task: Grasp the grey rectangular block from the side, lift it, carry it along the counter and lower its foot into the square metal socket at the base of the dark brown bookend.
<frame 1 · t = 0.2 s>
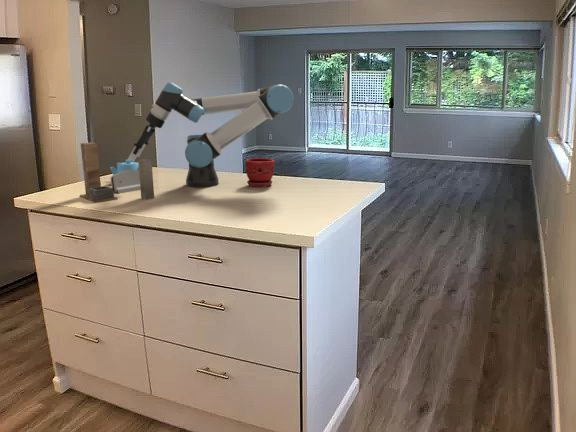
hand: (133, 157, 248), 15 cm above the table, tool tilted 35°, fingers open, 13 cm apart
teapot: (129, 182, 278), on the table
dark brown bookend: (101, 199, 238), on the table
grey rectangular block: (147, 198, 238), on the table
hinge: (129, 190, 257), on the table
plant pot: (260, 185, 262), on the table
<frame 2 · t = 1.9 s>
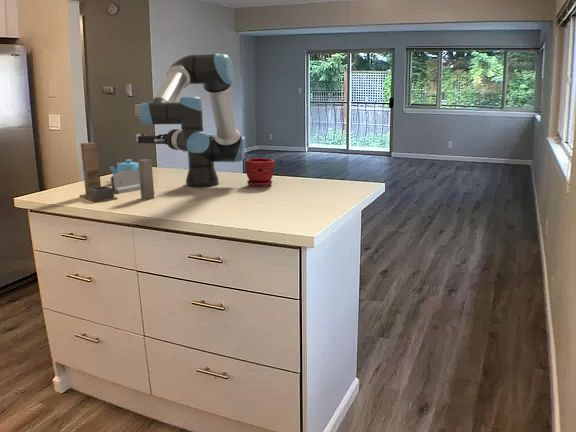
hand: (153, 136, 225), 26 cm above the table, tool horizontal, fingers open, 13 cm apart
nothing on the table moved.
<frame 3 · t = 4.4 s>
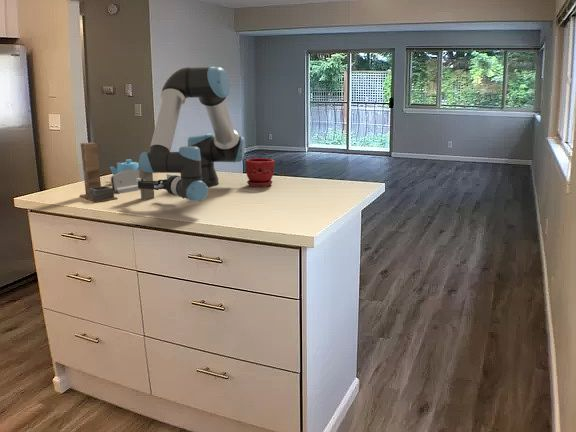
hand: (152, 179, 231), 9 cm above the table, tool horizontal, fingers open, 13 cm apart
nothing on the table moved.
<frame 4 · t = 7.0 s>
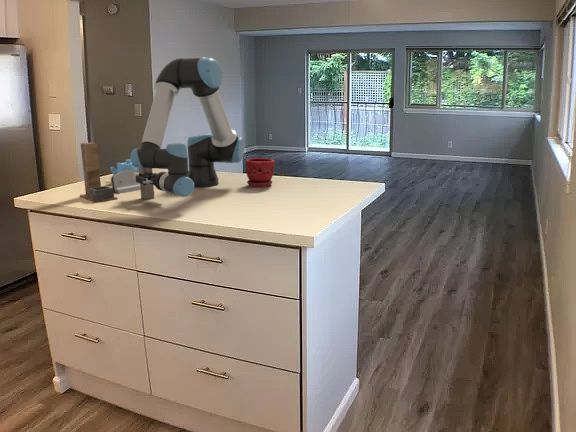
hand: (140, 175, 240), 9 cm above the table, tool horizontal, fingers closed on grey rectangular block, 4 cm apart
grey rectangular block: (147, 198, 238), on the table, touching gripper
everything else where it was.
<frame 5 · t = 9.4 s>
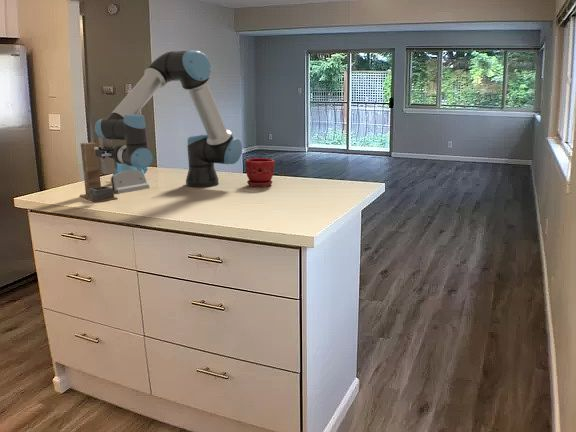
hand: (100, 149, 236), 20 cm above the table, tool horizontal, fingers closed on grey rectangular block, 4 cm apart
grey rectangular block: (108, 172, 234), point 11 cm above the table, touching gripper
everything else where it was.
when the fingers open (11 cm above the table, at t = 12.2 s): grey rectangular block drops 1 cm, resting on dark brown bookend.
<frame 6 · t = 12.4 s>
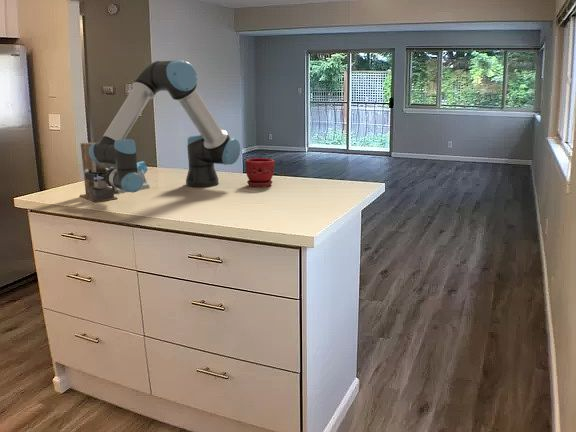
hand: (94, 171, 239), 11 cm above the table, tool horizontal, fingers open, 7 cm apart
grey rectangular block: (101, 197, 237), point 1 cm above the table, touching dark brown bookend
everything else where it was.
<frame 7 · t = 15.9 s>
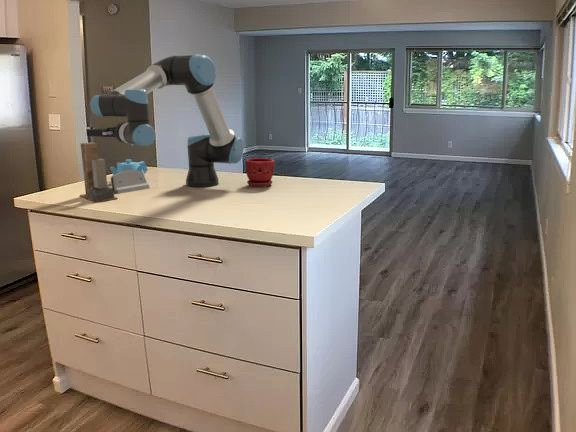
hand: (104, 129, 223), 29 cm above the table, tool horizontal, fingers open, 13 cm apart
nothing on the table moved.
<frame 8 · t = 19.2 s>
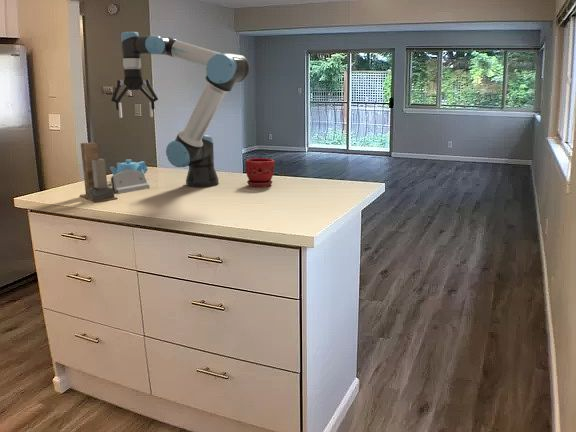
hand: (136, 117, 257), 32 cm above the table, tool pointing down, fingers open, 13 cm apart
nothing on the table moved.
at the end: grey rectangular block 0.0 cm off-centre on the dark brown bookend, point 0.6 cm above the dark brown bookend's base; grey rectangular block tilted 0°; the gripper is holding nothing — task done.
